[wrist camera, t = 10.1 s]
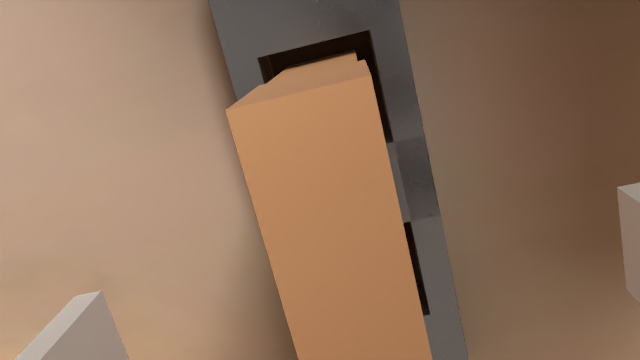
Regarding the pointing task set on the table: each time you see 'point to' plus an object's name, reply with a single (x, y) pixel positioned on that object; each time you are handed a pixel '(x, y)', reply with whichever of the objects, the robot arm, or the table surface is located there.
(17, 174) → the table surface
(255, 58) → the rail
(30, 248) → the table surface
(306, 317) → the tan wooden block
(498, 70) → the table surface
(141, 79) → the table surface
